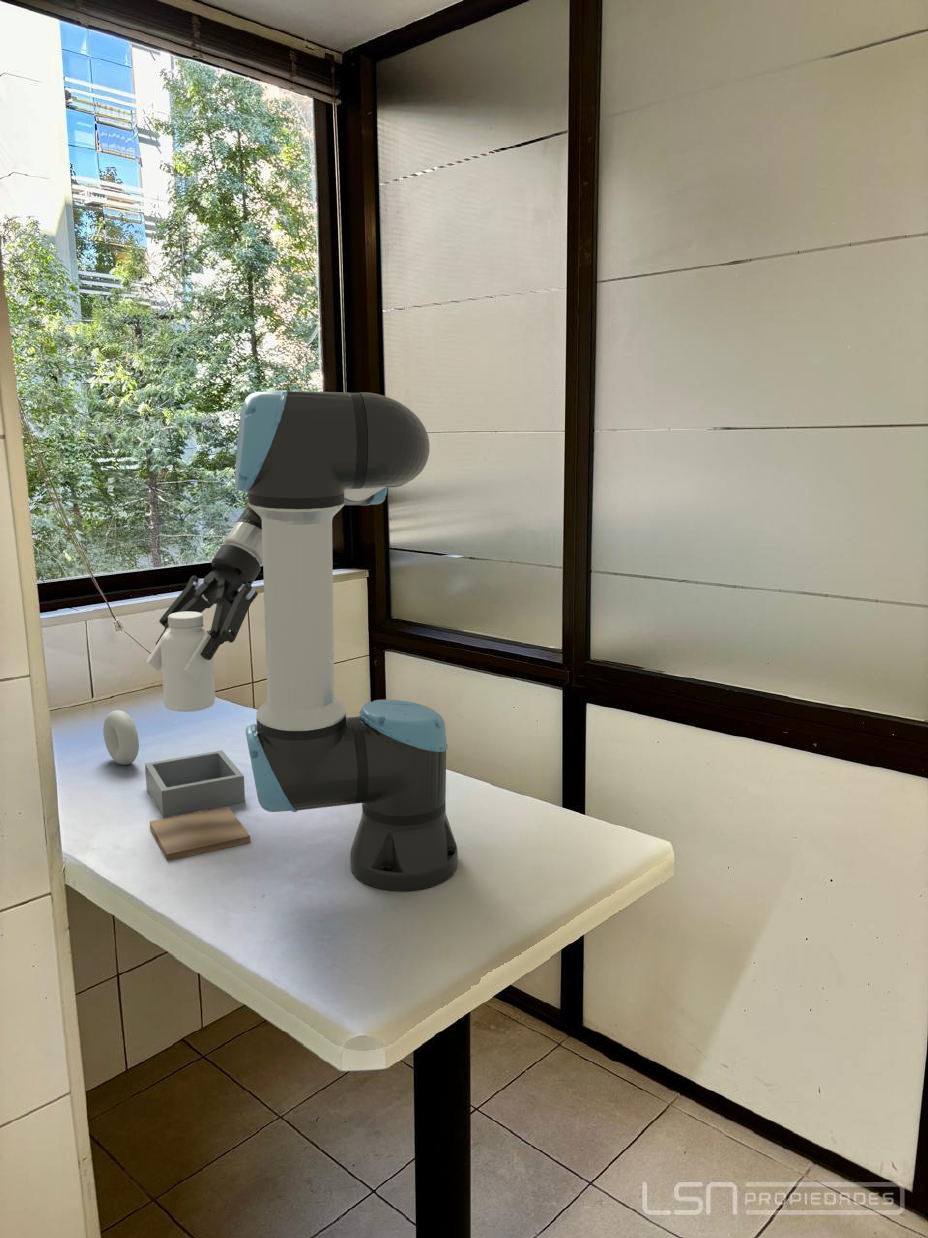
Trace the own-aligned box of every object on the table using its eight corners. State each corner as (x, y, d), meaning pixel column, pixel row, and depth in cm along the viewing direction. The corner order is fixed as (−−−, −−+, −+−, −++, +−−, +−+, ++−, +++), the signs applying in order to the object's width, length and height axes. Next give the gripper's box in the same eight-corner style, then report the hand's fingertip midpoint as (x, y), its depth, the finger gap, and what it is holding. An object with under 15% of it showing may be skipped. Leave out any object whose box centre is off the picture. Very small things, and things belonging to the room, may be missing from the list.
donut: (102, 758, 166) (98, 706, 164) (120, 753, 168) (116, 702, 166) (125, 774, 159) (121, 720, 157) (144, 769, 161) (140, 715, 159)
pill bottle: (207, 713, 142) (202, 620, 139) (157, 712, 142) (150, 619, 139) (222, 698, 150) (217, 609, 147) (173, 697, 150) (168, 609, 147)
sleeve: (245, 801, 148) (243, 775, 147) (163, 818, 142) (161, 791, 141) (223, 774, 159) (222, 750, 158) (146, 788, 153) (144, 763, 152)
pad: (250, 842, 134) (250, 836, 134) (167, 860, 128) (166, 854, 128) (228, 811, 144) (227, 805, 144) (150, 827, 139) (149, 821, 138)
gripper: (300, 575, 149) (231, 693, 139) (211, 564, 160) (142, 673, 150) (276, 547, 144) (203, 667, 134) (186, 537, 154) (112, 648, 144)
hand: (171, 670), depth 142 cm, fingers closed on pill bottle, 8 cm apart
